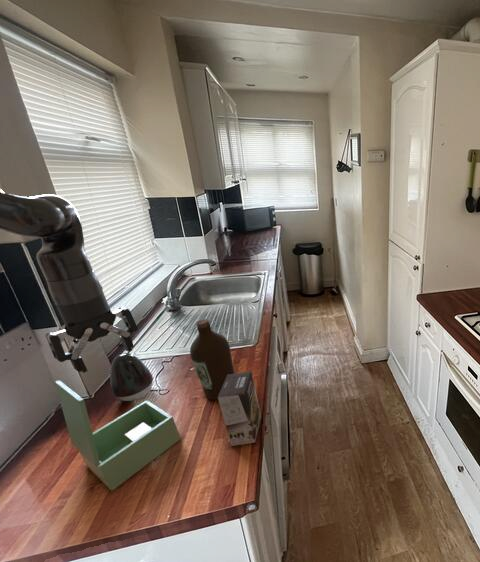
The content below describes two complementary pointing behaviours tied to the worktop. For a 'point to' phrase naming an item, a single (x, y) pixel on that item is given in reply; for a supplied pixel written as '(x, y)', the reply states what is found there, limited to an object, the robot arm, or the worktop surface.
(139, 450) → the chest
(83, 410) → the chest lid
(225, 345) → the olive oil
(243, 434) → the coffee box
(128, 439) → the block
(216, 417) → the worktop surface
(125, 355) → the dark rounded dome
